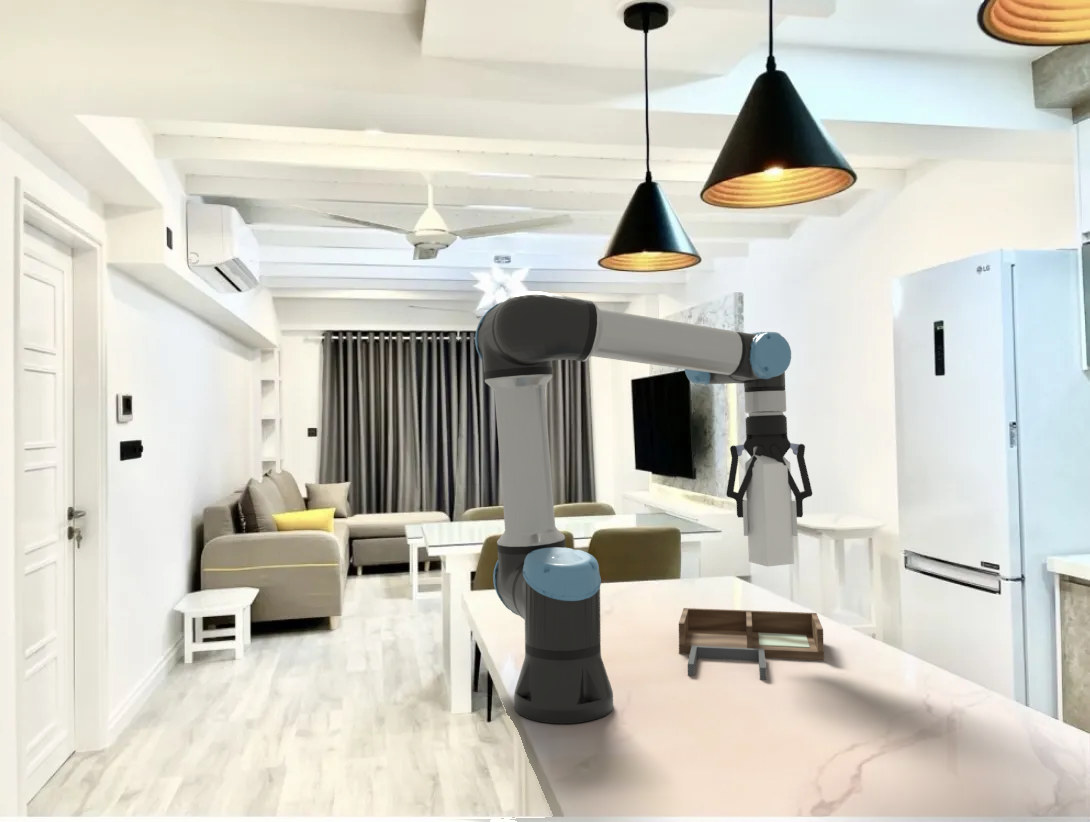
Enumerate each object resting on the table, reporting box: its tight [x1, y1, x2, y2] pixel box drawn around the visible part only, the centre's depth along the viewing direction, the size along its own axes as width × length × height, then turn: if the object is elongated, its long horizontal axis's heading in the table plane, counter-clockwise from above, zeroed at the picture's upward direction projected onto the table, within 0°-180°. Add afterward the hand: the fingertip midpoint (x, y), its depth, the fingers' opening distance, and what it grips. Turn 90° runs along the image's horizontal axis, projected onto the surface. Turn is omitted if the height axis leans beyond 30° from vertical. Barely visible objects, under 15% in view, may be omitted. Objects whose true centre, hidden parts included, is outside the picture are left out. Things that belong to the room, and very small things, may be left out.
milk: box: [744, 447, 795, 567], centre depth 151 cm, size 6×6×22 cm
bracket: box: [687, 645, 767, 681], centre depth 142 cm, size 12×13×2 cm
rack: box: [678, 607, 825, 662], centre depth 155 cm, size 14×26×6 cm, turn 76°
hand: (770, 534), depth 151 cm, fingers closed on milk, 8 cm apart
